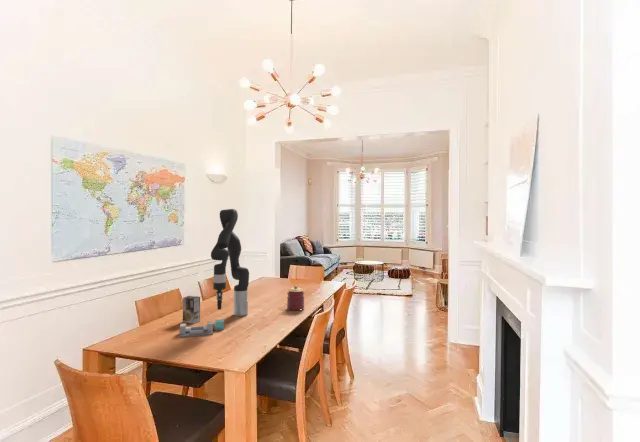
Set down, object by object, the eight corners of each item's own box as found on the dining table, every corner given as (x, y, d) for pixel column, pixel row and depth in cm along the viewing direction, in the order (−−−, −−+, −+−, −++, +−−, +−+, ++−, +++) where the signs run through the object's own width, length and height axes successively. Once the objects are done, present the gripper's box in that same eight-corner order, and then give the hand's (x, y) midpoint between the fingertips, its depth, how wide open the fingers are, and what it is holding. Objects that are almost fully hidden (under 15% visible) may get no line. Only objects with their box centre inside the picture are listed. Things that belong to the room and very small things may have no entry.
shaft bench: (212, 328, 209) (212, 319, 209) (212, 334, 198) (212, 325, 198) (181, 330, 203) (181, 322, 203) (179, 337, 192) (179, 328, 192)
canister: (283, 309, 252) (284, 286, 251) (291, 305, 264) (292, 283, 263) (299, 311, 247) (300, 287, 246) (307, 307, 259) (307, 284, 259)
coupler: (223, 327, 212) (223, 319, 211) (223, 329, 207) (223, 321, 207) (215, 327, 210) (215, 319, 210) (215, 330, 205) (215, 322, 205)
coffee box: (200, 321, 223) (200, 296, 222) (193, 324, 217) (194, 298, 216) (189, 319, 226) (189, 295, 225) (182, 322, 220) (182, 297, 219)
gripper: (226, 283, 202) (226, 310, 202) (225, 278, 216) (225, 304, 216) (213, 283, 200) (212, 311, 200) (213, 279, 214) (212, 305, 214)
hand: (219, 307), depth 208 cm, fingers open, 8 cm apart
